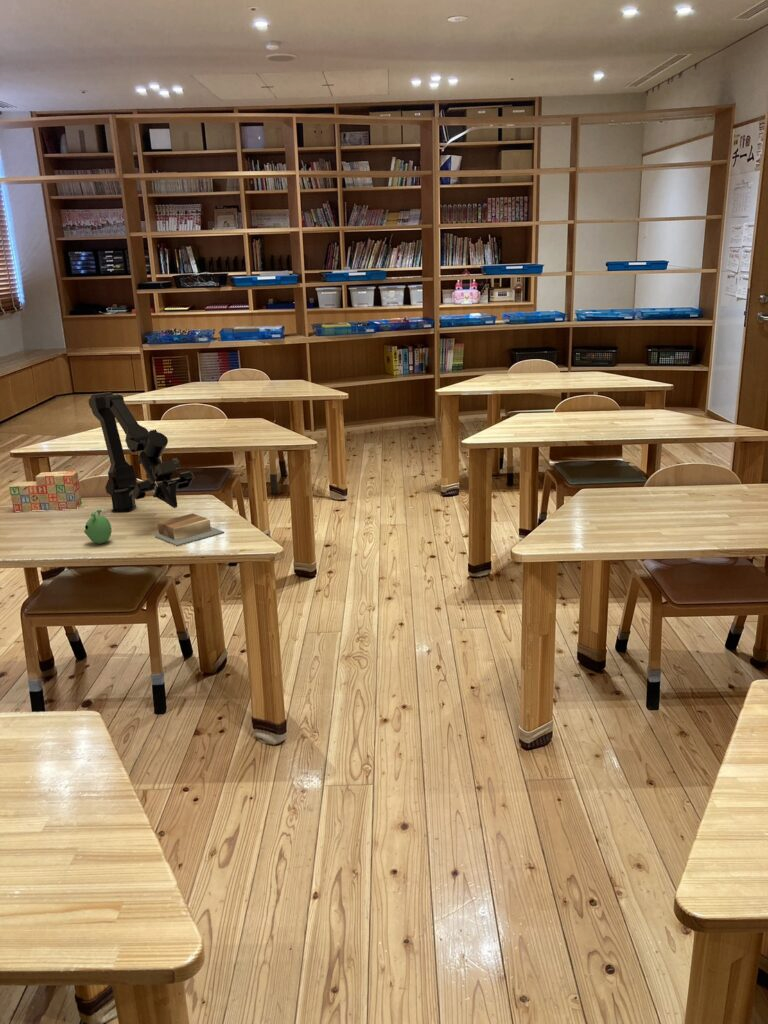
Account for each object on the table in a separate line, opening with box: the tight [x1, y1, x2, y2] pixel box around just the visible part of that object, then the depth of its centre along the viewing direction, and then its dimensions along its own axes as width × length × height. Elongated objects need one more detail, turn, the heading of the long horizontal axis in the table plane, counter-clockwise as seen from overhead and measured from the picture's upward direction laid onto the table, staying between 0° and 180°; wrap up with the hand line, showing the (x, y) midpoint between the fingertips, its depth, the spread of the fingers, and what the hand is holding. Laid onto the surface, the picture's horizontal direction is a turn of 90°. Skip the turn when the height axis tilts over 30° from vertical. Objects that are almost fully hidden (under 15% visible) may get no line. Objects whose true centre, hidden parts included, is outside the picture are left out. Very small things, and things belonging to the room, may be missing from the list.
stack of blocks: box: [8, 470, 83, 512], centre depth 276 cm, size 21×6×12 cm, turn 94°
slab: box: [157, 513, 212, 540], centre depth 244 cm, size 4×12×10 cm
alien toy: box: [83, 509, 112, 545], centre depth 237 cm, size 7×8×10 cm
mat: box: [154, 526, 225, 547], centre depth 243 cm, size 13×16×1 cm
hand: (175, 507), depth 245 cm, fingers closed
